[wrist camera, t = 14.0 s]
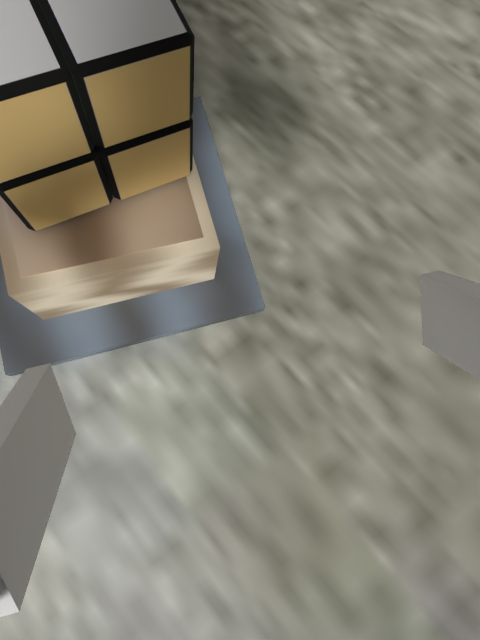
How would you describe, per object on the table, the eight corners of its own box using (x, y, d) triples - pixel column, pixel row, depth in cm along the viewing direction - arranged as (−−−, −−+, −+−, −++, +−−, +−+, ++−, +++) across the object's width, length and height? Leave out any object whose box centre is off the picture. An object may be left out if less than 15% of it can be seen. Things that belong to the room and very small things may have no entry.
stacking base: (199, 105, 36) (202, 31, 29) (262, 310, 32) (283, 281, 26) (-33, 144, 33) (-91, 71, 26) (11, 375, 29) (-43, 362, 22)
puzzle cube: (-29, 92, 26) (-158, -103, 16) (129, 46, 28) (98, -152, 18) (32, 236, 24) (-71, 115, 15) (194, 176, 26) (198, 35, 17)
